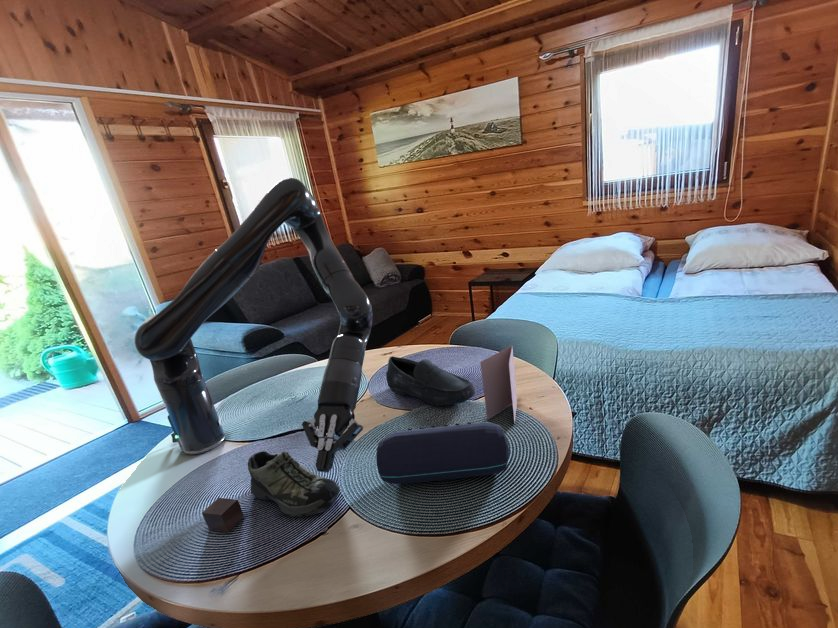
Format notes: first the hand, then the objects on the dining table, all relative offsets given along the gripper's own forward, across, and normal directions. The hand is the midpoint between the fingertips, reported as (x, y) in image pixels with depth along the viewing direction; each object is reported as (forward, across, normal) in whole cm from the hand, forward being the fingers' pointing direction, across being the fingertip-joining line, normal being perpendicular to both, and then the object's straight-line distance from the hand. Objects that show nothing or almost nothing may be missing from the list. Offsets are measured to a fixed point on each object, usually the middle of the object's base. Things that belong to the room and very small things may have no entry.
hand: (322, 471), depth 82 cm
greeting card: (-19, -31, -26) cm, 45 cm away
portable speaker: (-2, -22, -9) cm, 24 cm away
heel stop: (+11, +15, +4) cm, 19 cm away
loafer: (-25, -7, -32) cm, 41 cm away
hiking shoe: (+5, +6, -2) cm, 8 cm away
